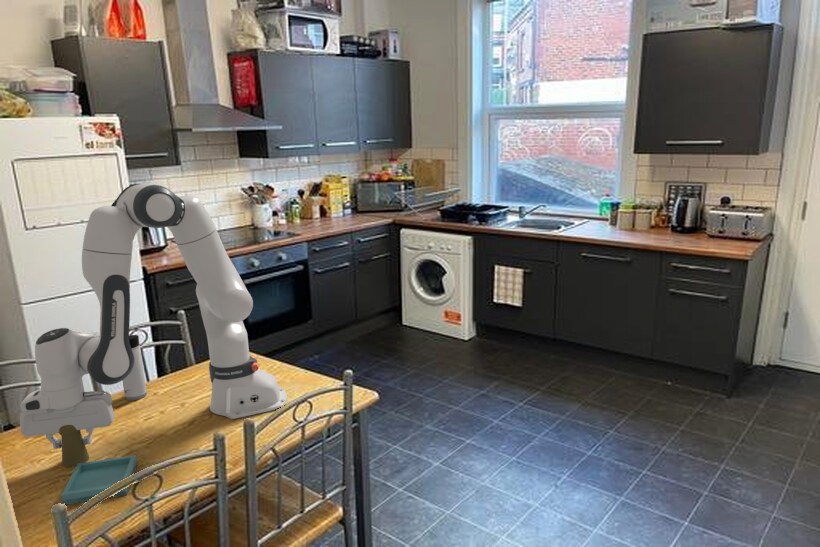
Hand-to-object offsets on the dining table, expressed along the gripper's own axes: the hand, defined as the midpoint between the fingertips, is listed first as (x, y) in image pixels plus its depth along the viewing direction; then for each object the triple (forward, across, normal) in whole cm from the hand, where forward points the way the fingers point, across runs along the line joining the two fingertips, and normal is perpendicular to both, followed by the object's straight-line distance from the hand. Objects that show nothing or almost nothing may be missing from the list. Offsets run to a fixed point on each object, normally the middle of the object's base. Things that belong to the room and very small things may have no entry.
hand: (73, 445), depth 148 cm
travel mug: (+4, -8, -35) cm, 36 cm away
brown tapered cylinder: (+4, 0, 0) cm, 4 cm away
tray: (+4, -9, +13) cm, 16 cm away
